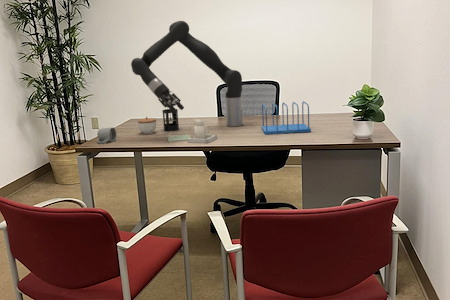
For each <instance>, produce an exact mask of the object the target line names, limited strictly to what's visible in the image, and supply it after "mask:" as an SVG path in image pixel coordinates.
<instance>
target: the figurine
mask: <svg viewBox="0 0 450 300" xmlns="http://www.w3.org/2000/svg"><path fill="white" fill-rule="evenodd" d="M192 121H193V122H194V123H195V124H194V126H193V127H194V128H193V132H194V138H197V139H206V134H207V135H210V127H209V124H205V122H204V121H205V120H204V118H197V119H196V118H194V119H192Z"/></svg>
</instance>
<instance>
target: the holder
mask: <svg viewBox="0 0 450 300" xmlns="http://www.w3.org/2000/svg"><path fill="white" fill-rule="evenodd" d="M217 139H218V136H217V134H206V139H197V138H195V137H191V138H188V140H187V143H193V144H194V143H195V144H209V143H211V142H213V141H216V140H217Z"/></svg>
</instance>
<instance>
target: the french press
mask: <svg viewBox="0 0 450 300" xmlns="http://www.w3.org/2000/svg"><path fill="white" fill-rule="evenodd" d="M169 93H170V94H171V93H173V91H170V90H169ZM164 104H165V102H164ZM171 105H172V106H173V107H175V106H177V105H175V104H172V103H171ZM175 109H176V111H175V112H174V113H173V112H172V111H171V110H170V109H169V108H166V109H163V110H162V111H161V112H162V119H163V121H162V122H163V132H176V131H179V130H180V123H179V115H178V112H179V110H178V109H179V108H178V109H177V108H175Z"/></svg>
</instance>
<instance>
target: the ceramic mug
mask: <svg viewBox="0 0 450 300" xmlns="http://www.w3.org/2000/svg"><path fill="white" fill-rule="evenodd" d="M96 135H97V143H98V144H101V145H104V144H106V143H108V142H109V143H110V142H115V141H116V139H117V136H118V135H117V131H116V129H115V128H114V127H111V126H110V127H103V128H102V127H101V128H100V129H98V130H97V134H96Z"/></svg>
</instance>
